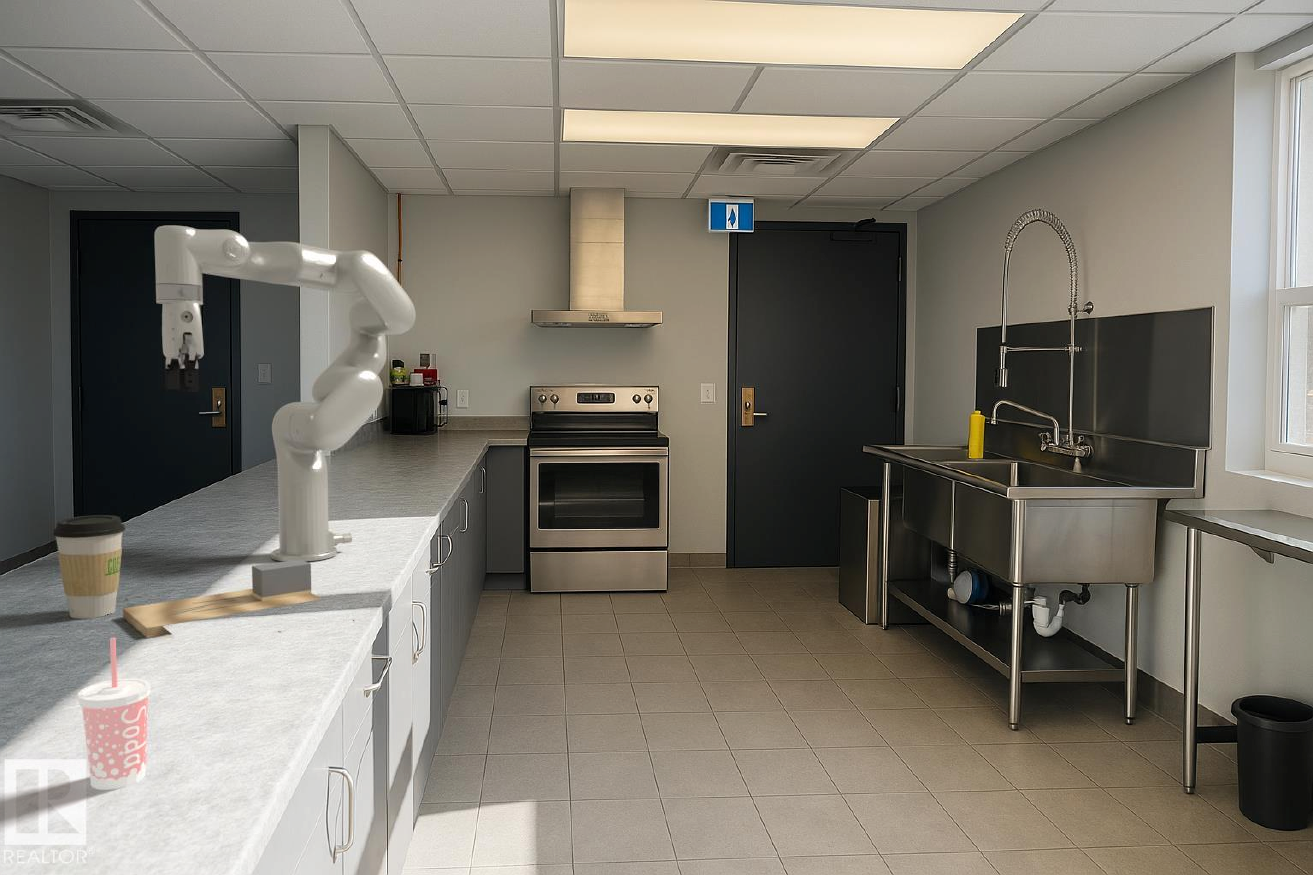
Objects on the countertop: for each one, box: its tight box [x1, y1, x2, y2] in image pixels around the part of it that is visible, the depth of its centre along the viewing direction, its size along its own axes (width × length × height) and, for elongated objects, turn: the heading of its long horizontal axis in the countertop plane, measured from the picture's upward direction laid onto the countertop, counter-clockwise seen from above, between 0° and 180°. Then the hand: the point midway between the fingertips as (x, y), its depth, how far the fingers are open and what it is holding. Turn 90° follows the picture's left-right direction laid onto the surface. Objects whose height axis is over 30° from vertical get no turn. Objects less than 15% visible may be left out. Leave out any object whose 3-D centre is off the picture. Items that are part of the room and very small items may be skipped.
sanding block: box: [251, 559, 312, 601], centre depth 155 cm, size 8×4×5 cm, turn 132°
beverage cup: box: [77, 636, 152, 791], centre depth 90 cm, size 6×6×14 cm
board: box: [122, 588, 323, 639], centre depth 150 cm, size 26×14×2 cm, turn 132°
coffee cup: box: [52, 514, 126, 620], centre depth 148 cm, size 10×10×15 cm
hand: (182, 390), depth 171 cm, fingers open, 9 cm apart
